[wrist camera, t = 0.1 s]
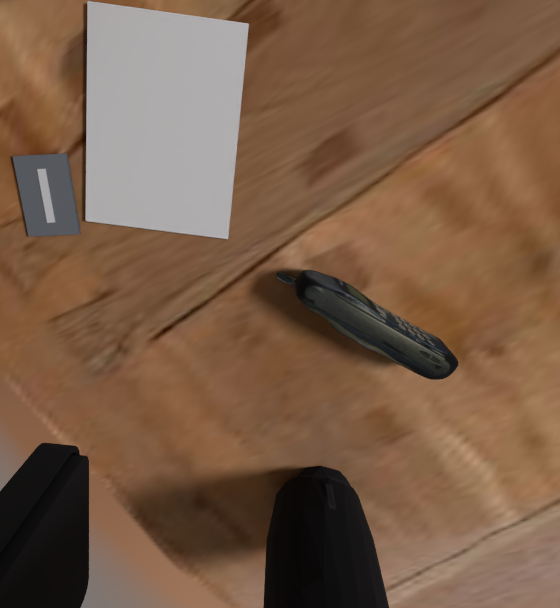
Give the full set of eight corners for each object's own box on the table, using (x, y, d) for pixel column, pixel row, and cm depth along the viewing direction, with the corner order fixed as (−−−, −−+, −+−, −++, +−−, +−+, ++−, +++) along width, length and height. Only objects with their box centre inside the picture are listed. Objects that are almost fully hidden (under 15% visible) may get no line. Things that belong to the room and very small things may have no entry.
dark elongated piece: (468, 360, 36) (292, 265, 34) (444, 392, 37) (271, 301, 35) (445, 335, 41) (289, 250, 39) (425, 364, 42) (271, 282, 39)
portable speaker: (331, 553, 47) (361, 814, 29) (249, 509, 46) (225, 754, 27) (384, 491, 45) (453, 731, 27) (300, 443, 44) (310, 660, 25)
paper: (89, 2, 34) (87, 0, 33) (248, 25, 34) (248, 23, 34) (87, 220, 38) (85, 221, 38) (228, 238, 38) (227, 239, 38)
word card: (14, 156, 37) (11, 156, 36) (67, 153, 37) (64, 153, 36) (30, 235, 38) (27, 236, 38) (80, 233, 38) (78, 234, 38)
